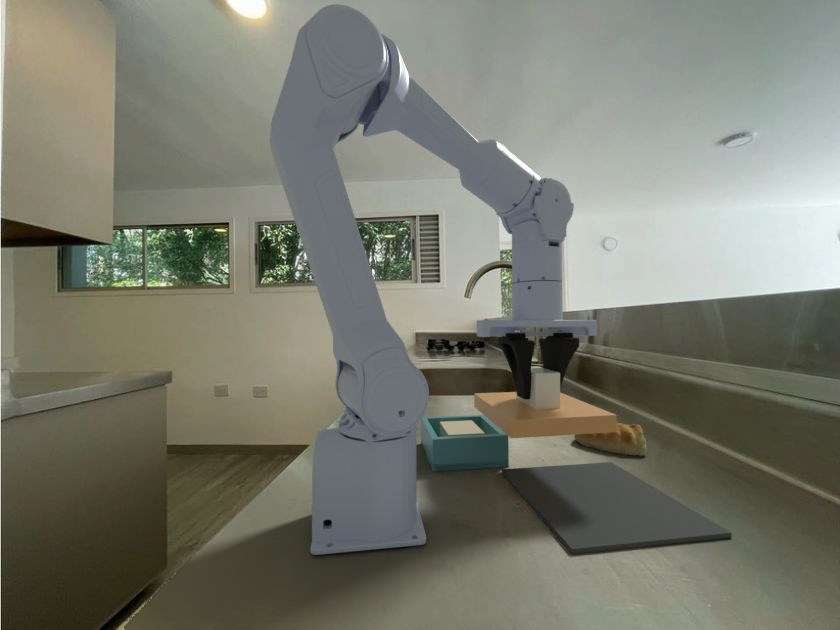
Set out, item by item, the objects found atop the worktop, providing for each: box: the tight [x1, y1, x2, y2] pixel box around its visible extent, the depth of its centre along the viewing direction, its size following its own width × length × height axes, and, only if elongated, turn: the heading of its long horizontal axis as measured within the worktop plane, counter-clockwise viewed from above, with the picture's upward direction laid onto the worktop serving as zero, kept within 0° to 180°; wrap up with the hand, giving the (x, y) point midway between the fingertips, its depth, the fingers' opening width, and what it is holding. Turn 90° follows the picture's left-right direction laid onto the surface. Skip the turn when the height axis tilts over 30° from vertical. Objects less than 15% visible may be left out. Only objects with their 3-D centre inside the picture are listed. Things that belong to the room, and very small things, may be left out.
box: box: [420, 414, 510, 473], centre depth 48 cm, size 10×10×4 cm
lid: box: [473, 365, 618, 439], centre depth 41 cm, size 12×12×6 cm
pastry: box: [574, 422, 648, 457], centre depth 52 cm, size 9×7×4 cm
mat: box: [501, 461, 733, 555], centre depth 36 cm, size 15×15×1 cm
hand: (537, 396), depth 41 cm, fingers closed on lid, 3 cm apart
